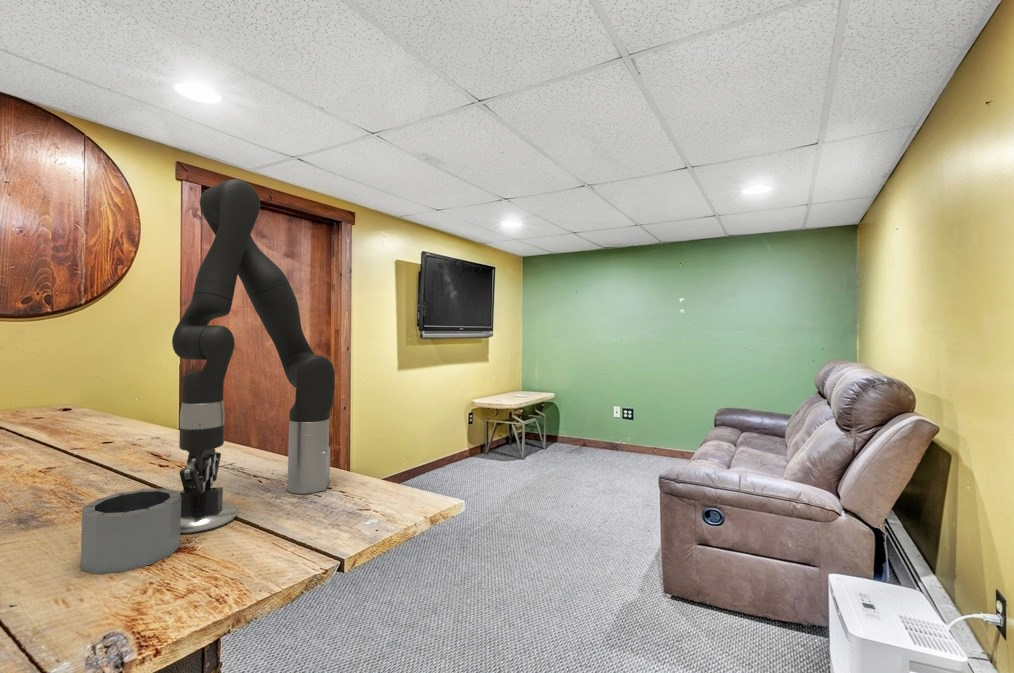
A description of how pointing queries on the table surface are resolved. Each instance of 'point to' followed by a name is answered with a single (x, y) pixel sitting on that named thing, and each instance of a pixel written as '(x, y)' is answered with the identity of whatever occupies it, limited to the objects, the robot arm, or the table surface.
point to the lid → (206, 511)
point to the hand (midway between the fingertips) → (200, 508)
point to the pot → (130, 530)
